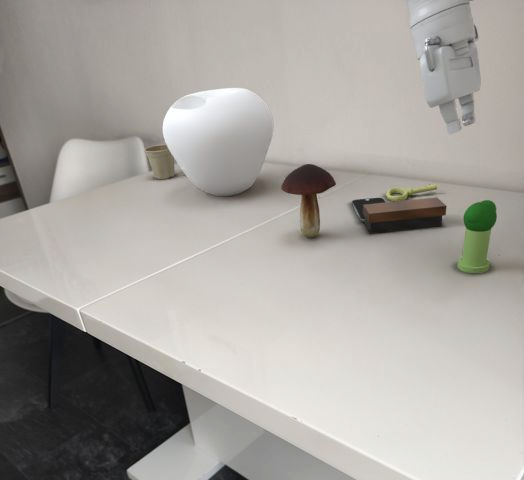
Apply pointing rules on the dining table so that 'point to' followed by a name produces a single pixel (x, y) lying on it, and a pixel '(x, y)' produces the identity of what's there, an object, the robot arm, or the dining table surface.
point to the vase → (219, 138)
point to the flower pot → (161, 161)
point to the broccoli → (477, 236)
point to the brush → (404, 214)
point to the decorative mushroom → (308, 194)
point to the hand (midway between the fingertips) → (462, 128)
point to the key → (407, 192)
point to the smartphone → (360, 202)
